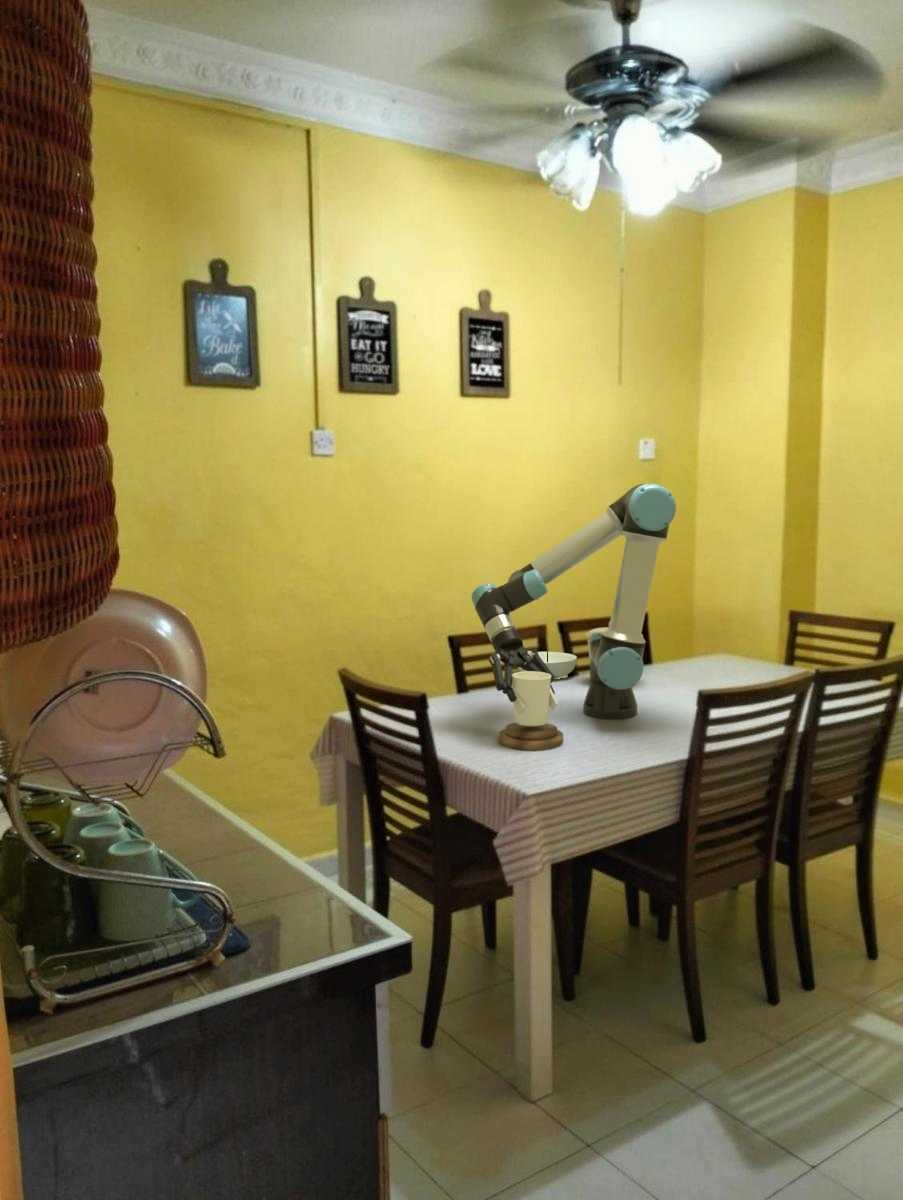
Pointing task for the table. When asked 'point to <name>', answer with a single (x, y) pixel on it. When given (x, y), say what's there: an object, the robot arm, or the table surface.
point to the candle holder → (532, 697)
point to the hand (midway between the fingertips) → (538, 709)
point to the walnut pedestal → (530, 737)
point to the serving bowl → (557, 662)
